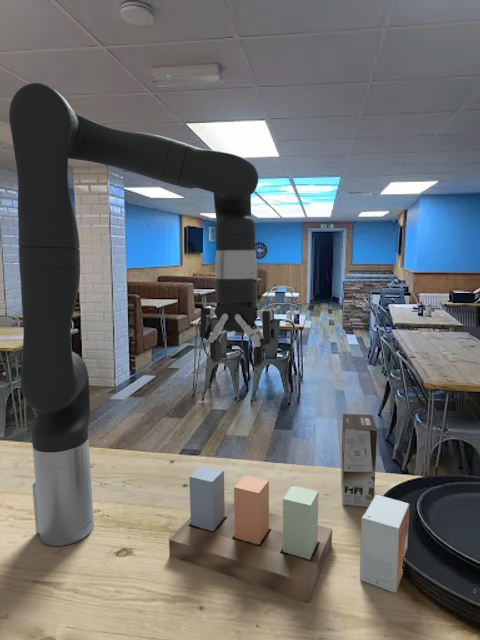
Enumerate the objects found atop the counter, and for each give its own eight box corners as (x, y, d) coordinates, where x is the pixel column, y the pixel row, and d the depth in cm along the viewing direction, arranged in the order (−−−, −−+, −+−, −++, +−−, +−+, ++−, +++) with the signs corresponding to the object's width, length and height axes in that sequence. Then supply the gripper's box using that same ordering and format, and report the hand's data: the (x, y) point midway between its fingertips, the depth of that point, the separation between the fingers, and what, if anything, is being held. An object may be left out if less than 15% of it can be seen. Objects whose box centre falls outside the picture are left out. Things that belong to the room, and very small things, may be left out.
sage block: (282, 551, 69) (283, 498, 68) (291, 535, 73) (292, 485, 72) (309, 559, 68) (310, 505, 66) (317, 542, 71) (318, 491, 70)
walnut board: (169, 555, 73) (169, 539, 73) (210, 511, 86) (209, 497, 85) (308, 602, 63) (309, 583, 63) (331, 544, 76) (332, 528, 75)
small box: (396, 595, 64) (399, 529, 63) (358, 580, 67) (360, 517, 66) (407, 563, 71) (410, 502, 70) (373, 551, 74) (375, 493, 72)
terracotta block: (234, 537, 73) (234, 487, 72) (245, 523, 77) (245, 475, 76) (258, 544, 71) (258, 493, 70) (268, 529, 75) (268, 480, 74)
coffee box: (375, 508, 86) (378, 430, 84) (341, 505, 88) (343, 428, 85) (370, 485, 95) (373, 414, 93) (340, 482, 96) (342, 412, 94)
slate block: (190, 524, 76) (189, 476, 75) (203, 511, 80) (202, 465, 79) (212, 531, 75) (212, 481, 73) (224, 517, 79) (223, 470, 77)
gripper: (191, 276, 78) (193, 364, 81) (264, 277, 72) (264, 372, 75) (212, 274, 85) (213, 356, 87) (280, 275, 79) (280, 363, 81)
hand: (237, 363), depth 81 cm, fingers open, 8 cm apart
